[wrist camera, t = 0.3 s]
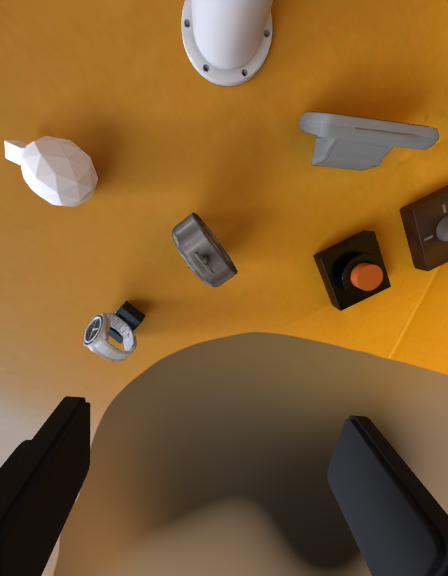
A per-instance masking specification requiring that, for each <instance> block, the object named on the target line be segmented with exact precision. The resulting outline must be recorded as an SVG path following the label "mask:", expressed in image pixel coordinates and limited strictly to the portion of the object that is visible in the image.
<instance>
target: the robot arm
mask: <svg viewBox="0 0 448 576" xmlns="http://www.w3.org/2000/svg"><path fill="white" fill-rule="evenodd" d="M272 3H273V0H185V4H184V7H183V12H182V20H181V22H182V37H183V43H184V46H185V50H186V53H187V55H188V57H189V60H190V61H191V63H192V64H193V66H194V68H195V69H196V70H197V71H198V72H199V73H200V74H201V75H202V76H203V77H204V78H206V79H207V80H208V81H210V82H213V83H215V84H217V85H222V86H235V85H239V84H242V83H244V82H246V81H248V80H249V79H250V78H252V77H253V76H254V75H255V74H256V73H257V72H258V71H259V69H260V68H261V66H262V65H263V63H264V61H265V59H266V57H267V54H268V52H269V48H270V45H271V40H272V17H271V11H270V10H271V6H272ZM187 26H189V27H187ZM265 36H266V37H267V38H266V37H265ZM205 70H208V72H205ZM242 74H245V76H243V75H242ZM89 465H90V403H87V402H86V401H85V398H83V397H68V396H67V397H65V398H64V399H63V400H62V401H61V402H60V404H59V405H58V406H57V408H56V409H55V410H54V411H53V413H52V414H51V415H50V417H49V418H48V419H47V421H46V422H45V423H44V424H43V426H42V427H41V428H40V430H39V431H38V432H37V434H36V435H35V436H34V438H33V439H32V440H25V441H24V442H22V443H21V444H20V445H19V446H18V447H17V448H16V449H15V450H14V452H13V453H12V454H11V455H10V457H9V458H8V459H7V460H6V461H5V463H4V464H3V465H2V466H1V468H0V576H41V575H42V573H43V571H44V568H45V566H46V564H47V562H48V560H49V557H50V555H51V553H52V551H53V549H54V546H55V544H56V542H57V540H58V537H59V535H60V533H61V531H62V529H63V526H64V524H65V522H66V519H67V517H68V515H69V513H70V511H71V509H72V506H73V504H74V502H75V500H76V498H77V495H78V493H79V491H80V489H81V487H82V484H83V482H84V480H85V478H86V475H87V473H88V470H89ZM327 477H328V482H329V484H330V486H331V489H332V491H333V493H334V495H335V497H336V499H337V501H338V504H339V506H340V508H341V510H342V512H343V514H344V516H345V519H346V521H347V523H348V525H349V527H350V529H351V531H352V534H353V536H354V538H355V540H356V542H357V544H358V546H359V549H360V551H361V553H362V555H363V557H364V559H365V561H366V564H367V566H368V568H369V570H370V572H371V574H372V576H448V515H447V514H446V512H445V511H444V510H443V509H442V507H441V506H440V505H439V504H438V502H437V501H436V500H435V499H434V498H433V496H432V495H431V494H430V493H429V491H428V490H427V489H426V488H425V487H424V485H423V484H422V483H421V482H420V480H419V479H418V478H417V477H416V476H415V474H414V473H413V472H412V471H411V469H410V468H409V467H408V466H407V464H406V463H405V462H404V461H403V459H402V458H401V457H400V456H399V455H398V454H397V452H396V451H395V450H394V448H393V447H392V446H391V445H390V444H389V442H388V441H387V440H386V439H385V437H384V436H383V435H382V434H381V432H380V431H379V430H378V429H377V428H376V427H375V425H374V424H373V423H372V422H371V420H370V419H369V418H367V417H366V416H350V417H349V418H348V419H347V420H345V422H344V425H343V428H342V431H341V433H340V437H339V439H338V442H337V445H336V448H335V451H334V454H333V457H332V460H331V463H330V466H329V468H328V472H327Z"/></svg>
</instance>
